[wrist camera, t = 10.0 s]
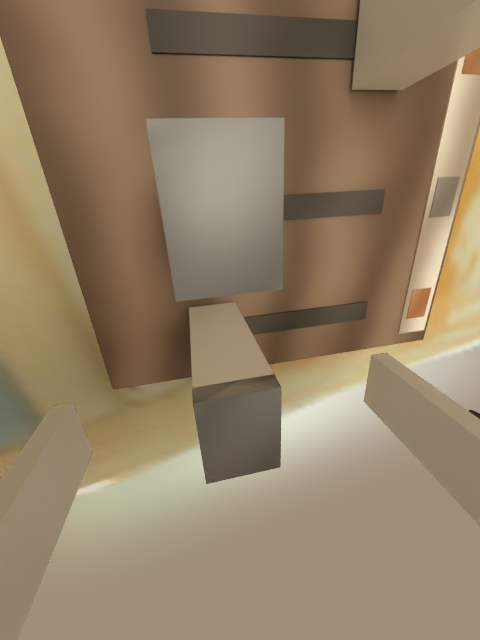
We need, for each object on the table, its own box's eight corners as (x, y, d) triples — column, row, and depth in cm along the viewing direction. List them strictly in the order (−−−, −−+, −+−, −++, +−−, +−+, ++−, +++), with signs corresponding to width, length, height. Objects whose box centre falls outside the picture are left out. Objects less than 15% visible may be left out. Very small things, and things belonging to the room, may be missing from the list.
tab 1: (180, 251, 15) (176, 301, 7) (169, 173, 13) (145, 118, 5) (231, 247, 15) (282, 289, 7) (226, 171, 14) (284, 117, 6)
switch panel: (121, 369, 20) (112, 391, 18) (-1, -47, 11) (-51, -116, 9) (401, 327, 24) (424, 340, 22) (474, -8, 15) (529, -49, 13)
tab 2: (196, 360, 18) (206, 483, 10) (189, 307, 16) (193, 403, 8) (238, 354, 19) (280, 467, 10) (235, 301, 17) (281, 387, 9)
